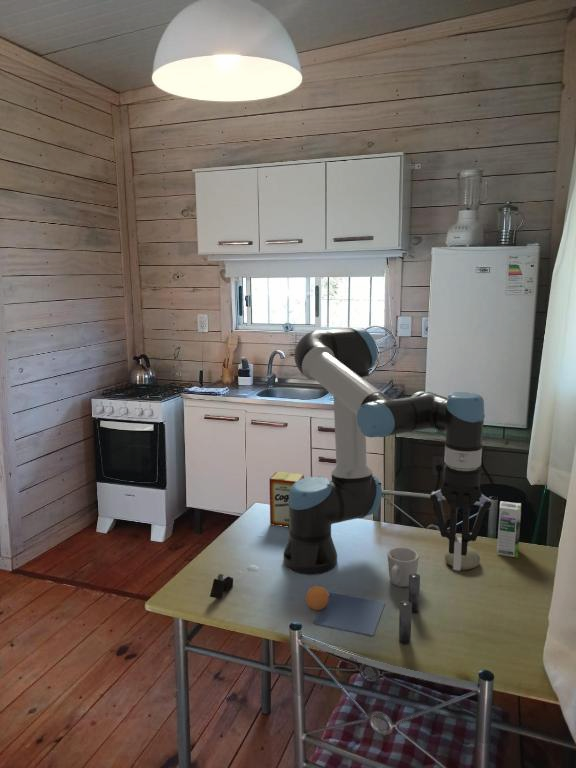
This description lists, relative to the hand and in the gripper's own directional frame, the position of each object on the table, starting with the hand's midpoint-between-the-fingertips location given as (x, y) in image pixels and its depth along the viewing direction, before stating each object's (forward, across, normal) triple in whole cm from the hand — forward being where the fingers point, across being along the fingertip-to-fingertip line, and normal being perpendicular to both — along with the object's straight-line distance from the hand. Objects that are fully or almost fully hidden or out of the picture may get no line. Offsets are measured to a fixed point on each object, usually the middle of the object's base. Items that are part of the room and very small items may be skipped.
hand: (457, 567), depth 133 cm
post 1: (+16, -10, -6) cm, 20 cm away
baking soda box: (+17, -56, +43) cm, 73 cm away
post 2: (+16, -10, +6) cm, 20 cm away
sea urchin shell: (+17, -1, +34) cm, 38 cm away
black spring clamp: (+17, -57, -3) cm, 59 cm away
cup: (+17, -15, +17) cm, 28 cm away
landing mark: (+16, -24, 0) cm, 29 cm away
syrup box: (+17, +11, +45) cm, 49 cm away
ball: (+14, -32, -1) cm, 35 cm away
